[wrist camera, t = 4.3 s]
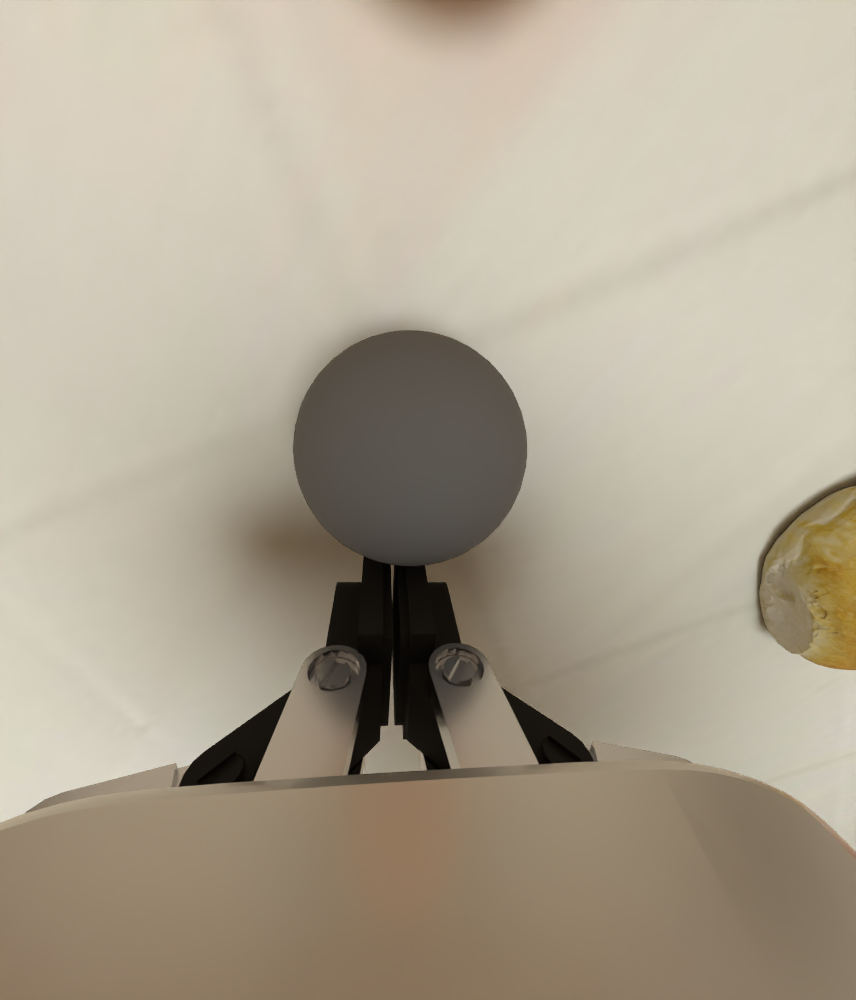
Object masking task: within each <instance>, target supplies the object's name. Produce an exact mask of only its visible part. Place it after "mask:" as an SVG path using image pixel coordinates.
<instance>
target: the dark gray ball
mask: <svg viewBox="0 0 856 1000" xmlns="http://www.w3.org/2000/svg"><path fill="white" fill-rule="evenodd" d="M293 454H294V464H295V471H296V475H297V479H298V483H299V486H300V488H301V491H302V493H303V495H304V498H305V500H306V502H307V504H308V506H309V507H310V509H311V511H312V512H313V514H314V515H315V517H316V518H317V520H318V521H319V522H320V523H321V525H322V526H323V527H324V528H325V529H326V530H327V531H328V532H329V533H330V534H331V535H332V536H333V537H335V538H336V539H337V540H338V541H339V542H341V543H342V544H343V545H345V546H346V547H348V548H349V549H351V550H353V551H355V552H357V553H359V554H361V555H363V556H365V557H367V558H370V559H373V560H375V561H378V562H382V563H387V564H391V565H400V566H421V565H430V564H434V563H439V562H442V561H445V560H448V559H451V558H454V557H457V556H459V555H461V554H463V553H465V552H467V551H469V550H470V549H472V548H473V547H475V546H476V545H478V544H479V543H481V542H482V541H483V540H485V539H486V538H487V537H488V536H489V535H490V534H491V533H492V532H493V531H494V530H495V529H496V528H497V527H498V526H499V525H500V523H501V522H502V521H503V519H504V518H505V517H506V515H507V514H508V512H509V511H510V509H511V508H512V506H513V504H514V502H515V500H516V497H517V495H518V493H519V491H520V488H521V484H522V480H523V476H524V472H525V468H526V459H527V438H526V430H525V425H524V421H523V417H522V413H521V410H520V407H519V405H518V403H517V400H516V398H515V396H514V394H513V392H512V390H511V389H510V387H509V385H508V384H507V382H506V381H505V379H504V378H503V376H502V375H501V374H500V373H499V372H498V371H497V370H496V368H495V367H494V366H493V365H492V364H491V363H490V362H489V361H488V360H486V359H485V358H484V357H483V356H481V355H480V354H479V353H478V352H476V351H475V350H473V349H472V348H470V347H468V346H466V345H464V344H463V343H461V342H459V341H457V340H454V339H452V338H450V337H447V336H443V335H440V334H436V333H431V332H424V331H410V330H408V331H394V332H388V333H384V334H380V335H376V336H373V337H370V338H367V339H365V340H363V341H361V342H359V343H356V344H354V345H353V346H351V347H349V348H347V349H346V350H345V351H343V352H342V353H341V354H339V355H338V356H337V357H335V358H334V359H333V360H332V361H331V362H330V363H329V364H328V365H327V366H326V367H325V368H324V369H323V370H322V371H321V372H320V373H319V374H318V376H317V377H316V379H315V380H314V382H313V383H312V385H311V386H310V388H309V390H308V391H307V393H306V395H305V398H304V400H303V402H302V404H301V407H300V410H299V413H298V417H297V421H296V424H295V432H294V443H293Z"/></svg>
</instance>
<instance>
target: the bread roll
mask: <svg viewBox="0 0 856 1000" xmlns="http://www.w3.org/2000/svg"><path fill="white" fill-rule="evenodd" d="M759 596H760V604H761V610H762V616H763V618H764V621H765V624H766V627H767V628H768V630H769V631H770V633H771V634H772V635H773V637H774V638H775V639H776V641H777V642H778V643H779V644H780V645H781V646H782V647H784V648H785V649H786V650H788V651H789V652H791V653H793V654H799V655H801V656H802V657H804V658H805V659H807V660H809V661H811V662H814V663H816V664H818V665H822V666H825V667H829V668H835V669H844V670H856V486H852V487H848V488H844V489H842V490H839V491H836V492H834V493H832V494H830V495H828V496H827V497H825V498H824V499H822V500H821V501H819V502H818V503H816V504H815V505H813V506H812V507H811V508H809V509H808V510H806V511H805V512H804V513H802V514H801V515H799V516H798V517H797V518H796V519H795V520H794V521H793V522H792V524H791V525H790V526H789V527H788V528H787V529H786V530H785V531H784V533H783V534H782V535H781V536H780V537H779V538H778V539H777V540H776V541H775V543H774V544H773V546H772V548H771V549H770V551H769V552H768V554H767V555H766V558H765V562H764V566H763V569H762V582H761V585H760V590H759Z"/></svg>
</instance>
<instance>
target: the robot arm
mask: <svg viewBox="0 0 856 1000" xmlns="http://www.w3.org/2000/svg"><path fill="white" fill-rule="evenodd" d="M392 657H393V690H394V722H395V725H403V739H407V740H408V741H409V742H410V743H411V744H412V745H413V746H415V747H416V748H417V749H418V750H419V761H420V766H421V770H422V771H409V772H392V773H376V774H363V770H364V764H365V755H366V754H367V753H368V752H369V751H370V750H371V749H372V748H373V747H374V746H375V745H376V744H377V743H378V742H379V741H380V726H388V717H389V699H390V681H391V662H392ZM0 1000H856V851H855V850H854V849H853V848H852V847H851V846H850V845H849V844H848V843H847V842H846V841H845V840H844V839H843V838H842V837H841V836H840V835H839V834H838V833H837V832H836V831H834V830H833V829H832V828H831V827H830V826H829V825H828V824H827V823H826V822H825V821H823V820H822V819H821V818H820V817H819V816H818V815H817V814H815V813H814V812H813V811H812V810H810V809H809V808H808V807H806V806H805V805H804V804H803V803H801V802H799V801H798V800H796V799H795V798H793V797H792V796H790V795H788V794H787V793H785V792H783V791H781V790H779V789H777V788H774V787H772V786H770V785H768V784H765V783H763V782H761V781H758V780H756V779H753V778H750V777H746V776H743V775H740V774H737V773H734V772H731V771H728V770H725V769H720V768H715V767H710V766H705V765H700V764H694V763H692V762H690V761H688V760H686V759H683V758H680V757H677V756H672V755H667V754H661V753H656V752H650V751H644V750H639V749H633V748H628V747H622V746H617V745H611V744H606V743H600V742H595V741H593V742H592V745H591V746H587V745H584V744H583V743H582V742H581V741H580V740H579V739H578V738H577V737H575V736H574V735H573V734H572V733H570V732H569V731H567V730H566V729H564V728H563V727H561V726H559V725H558V724H556V723H555V722H553V721H552V720H550V719H549V718H547V717H546V716H544V715H543V714H541V713H540V712H538V711H537V710H535V709H534V708H532V707H531V706H529V705H527V704H526V703H524V702H523V701H521V700H520V699H518V698H517V697H515V696H514V695H512V694H511V693H509V692H508V691H506V690H505V689H503V688H502V687H501V686H500V684H499V682H498V680H497V678H496V676H495V674H494V672H493V670H492V668H491V666H490V664H489V662H488V660H487V659H486V658H485V656H484V655H483V654H482V653H481V652H480V651H478V650H477V649H475V648H473V647H471V646H469V645H465V644H461V641H460V637H459V633H458V629H457V624H456V620H455V616H454V612H453V608H452V604H451V599H450V595H449V591H448V587H447V584H446V583H445V582H427V576H426V570H425V565H421V566H400V565H394V579H393V599H392V590H391V564H387V563H382V562H378V561H375V560H373V559H370V558H367V557H365V556H364V560H363V573H362V582H337V585H336V590H335V596H334V602H333V608H332V613H331V619H330V625H329V631H328V637H327V643H326V647H324V648H321V649H319V650H317V651H315V652H314V653H312V654H311V655H310V656H309V657H308V658H307V659H306V660H305V662H304V663H303V665H302V667H301V669H300V672H299V674H298V676H297V679H296V681H295V683H294V686H293V688H292V690H290V691H289V692H288V693H286V694H285V695H283V696H282V697H281V698H279V699H278V700H276V701H275V702H274V703H272V704H271V705H269V706H268V707H267V708H265V709H264V710H262V711H261V712H260V713H258V714H257V715H255V716H254V717H253V718H251V719H250V720H248V721H247V722H245V723H244V724H243V725H241V726H240V727H238V728H237V729H236V730H234V731H233V732H231V733H230V734H229V735H227V736H226V737H224V738H223V739H222V740H220V741H219V742H217V743H216V744H215V745H213V746H212V747H210V748H209V749H208V750H206V751H205V752H204V753H202V754H201V755H200V756H199V757H198V758H197V759H196V760H194V761H193V762H192V764H191V765H189V766H185V767H182V768H177V764H176V763H174V764H171V765H167V766H163V767H159V768H155V769H151V770H147V771H144V772H140V773H136V774H132V775H128V776H124V777H120V778H117V779H113V780H109V781H105V782H101V783H97V784H94V785H90V786H86V787H82V788H78V789H74V790H70V791H67V792H63V793H60V794H58V795H55V796H53V797H50V798H48V799H45V800H44V801H42V802H41V803H39V804H37V805H36V806H34V807H33V808H31V809H30V810H28V811H27V812H26V813H25V814H22V815H19V816H17V817H14V818H11V819H9V820H6V821H4V822H1V823H0Z"/></svg>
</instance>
